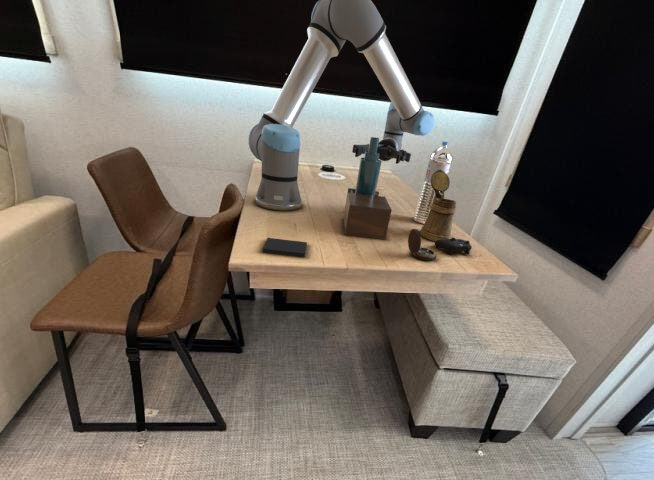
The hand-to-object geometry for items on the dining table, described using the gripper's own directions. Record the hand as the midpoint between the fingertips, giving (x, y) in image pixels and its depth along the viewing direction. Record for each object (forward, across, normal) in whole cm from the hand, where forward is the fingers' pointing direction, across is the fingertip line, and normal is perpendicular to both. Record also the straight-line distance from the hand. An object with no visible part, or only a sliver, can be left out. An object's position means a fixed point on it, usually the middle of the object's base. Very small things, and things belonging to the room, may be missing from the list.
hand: (376, 155), depth 106 cm
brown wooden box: (+20, -3, -18) cm, 27 cm away
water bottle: (-1, -20, -18) cm, 27 cm away
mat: (+46, +11, -18) cm, 51 cm away
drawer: (+7, +1, -17) cm, 19 cm away
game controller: (+21, -30, -18) cm, 41 cm away
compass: (+30, -21, -18) cm, 41 cm away
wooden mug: (+10, -23, -18) cm, 31 cm away
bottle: (+9, 0, -16) cm, 18 cm away
